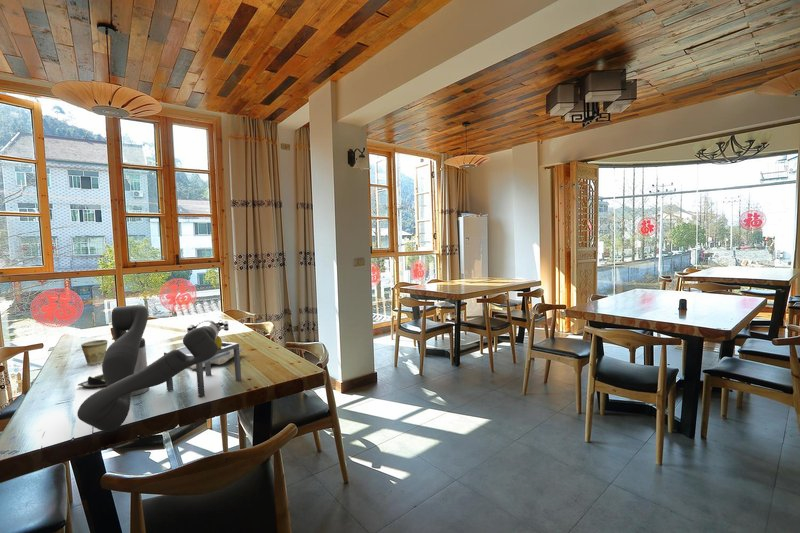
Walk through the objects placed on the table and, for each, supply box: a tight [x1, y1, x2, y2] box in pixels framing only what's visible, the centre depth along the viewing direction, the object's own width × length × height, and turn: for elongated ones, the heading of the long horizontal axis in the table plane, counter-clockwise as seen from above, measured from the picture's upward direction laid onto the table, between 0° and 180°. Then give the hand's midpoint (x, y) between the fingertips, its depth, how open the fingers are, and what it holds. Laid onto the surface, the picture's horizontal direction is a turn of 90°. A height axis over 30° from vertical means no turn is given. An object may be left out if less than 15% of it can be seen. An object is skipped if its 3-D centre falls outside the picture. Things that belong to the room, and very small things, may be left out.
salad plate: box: [77, 373, 107, 390], centre depth 161 cm, size 19×18×5 cm
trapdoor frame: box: [163, 341, 242, 398], centre depth 150 cm, size 19×19×15 cm
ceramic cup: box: [80, 339, 108, 366], centre depth 187 cm, size 13×10×10 cm
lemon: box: [214, 335, 223, 349], centre depth 148 cm, size 6×6×8 cm
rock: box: [188, 345, 244, 370], centre depth 179 cm, size 19×7×25 cm
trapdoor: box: [179, 348, 230, 364], centre depth 150 cm, size 14×14×1 cm
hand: (210, 324), depth 150 cm, fingers open, 6 cm apart
